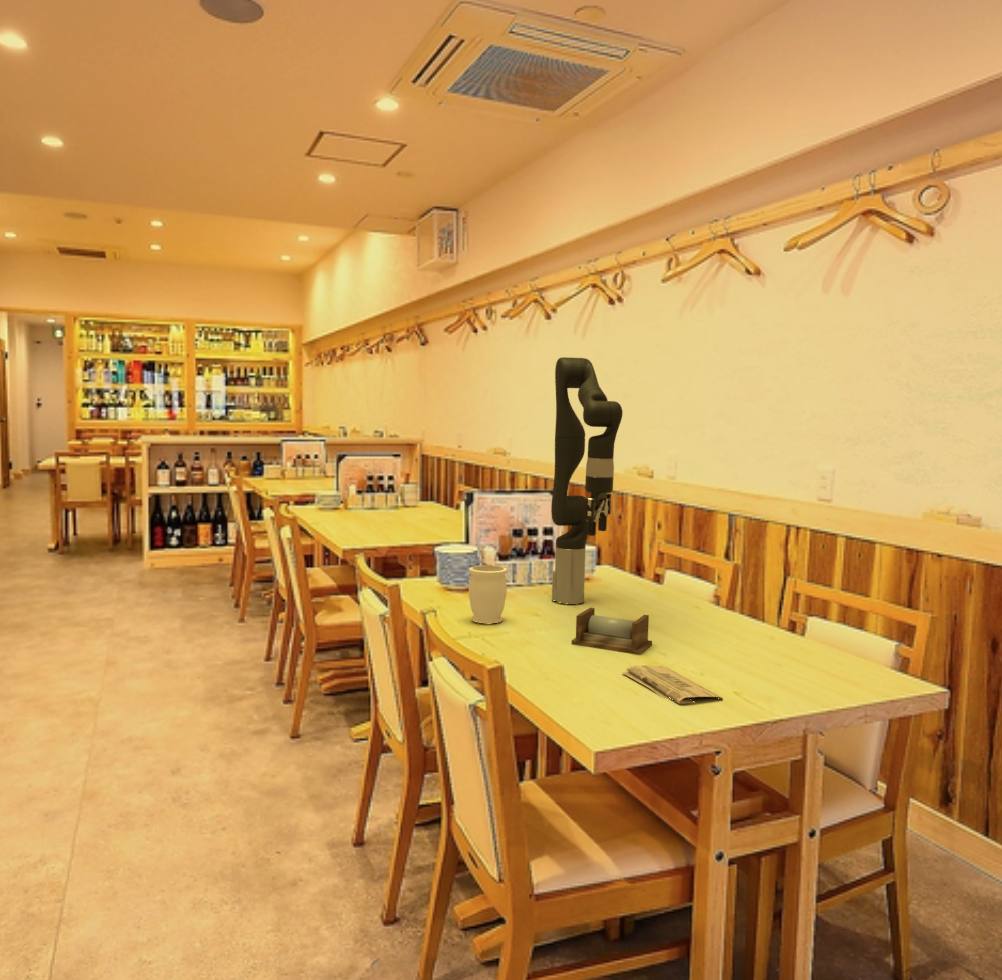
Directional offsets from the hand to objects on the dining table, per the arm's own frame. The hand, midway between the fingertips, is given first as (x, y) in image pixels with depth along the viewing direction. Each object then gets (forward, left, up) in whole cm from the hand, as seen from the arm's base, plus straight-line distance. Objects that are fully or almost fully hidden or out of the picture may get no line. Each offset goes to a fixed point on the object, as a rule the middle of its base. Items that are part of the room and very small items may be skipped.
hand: (596, 533), depth 219 cm
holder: (+11, -16, -26) cm, 32 cm away
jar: (-27, -12, -26) cm, 40 cm away
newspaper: (+32, -40, -27) cm, 58 cm away
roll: (+11, -15, -24) cm, 31 cm away
